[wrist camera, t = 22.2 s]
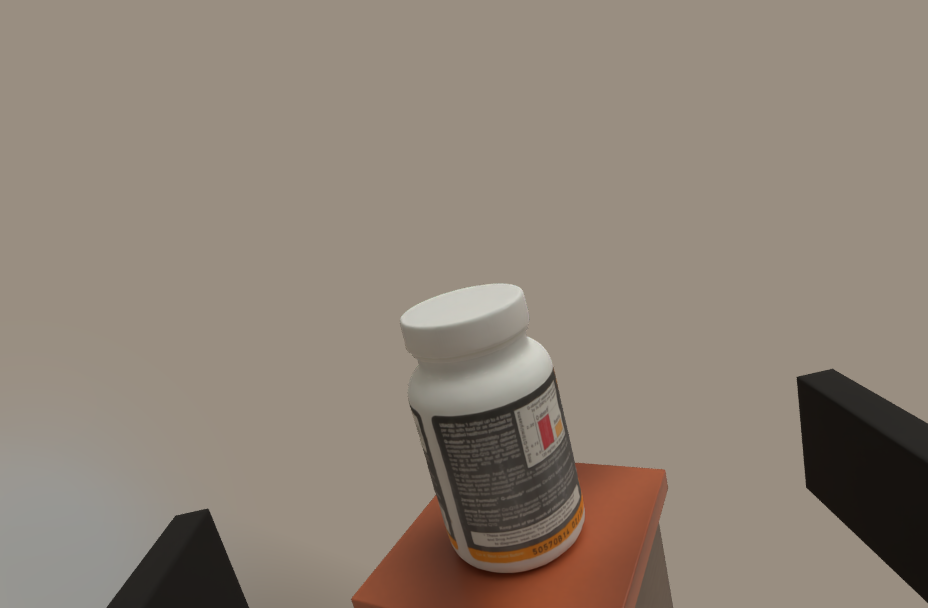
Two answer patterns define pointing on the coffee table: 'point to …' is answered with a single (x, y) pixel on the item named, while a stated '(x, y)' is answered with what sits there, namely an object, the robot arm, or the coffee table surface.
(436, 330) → the pill bottle
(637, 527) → the stand
